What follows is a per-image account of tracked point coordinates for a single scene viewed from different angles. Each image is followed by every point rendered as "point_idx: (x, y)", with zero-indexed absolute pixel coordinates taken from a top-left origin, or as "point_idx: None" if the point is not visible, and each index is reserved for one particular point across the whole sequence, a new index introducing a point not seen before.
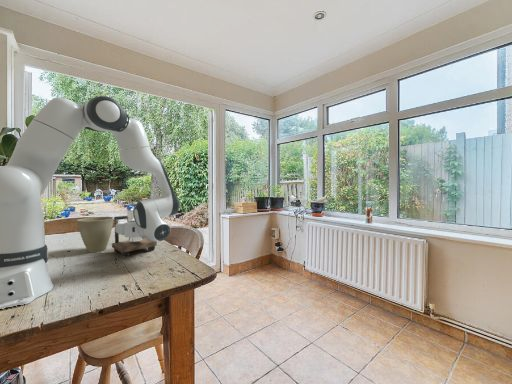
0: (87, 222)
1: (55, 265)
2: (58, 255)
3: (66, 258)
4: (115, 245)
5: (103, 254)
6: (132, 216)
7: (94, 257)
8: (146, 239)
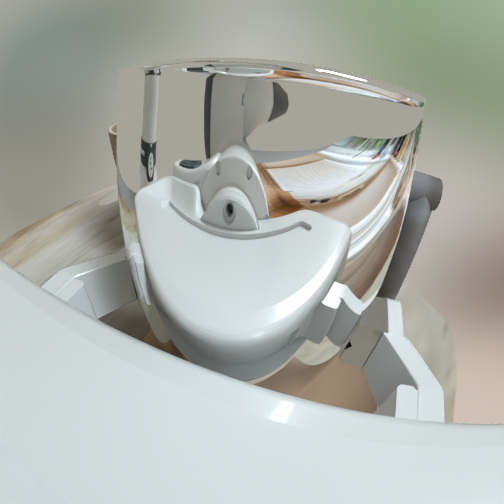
0: (109, 136)
1: (30, 277)
2: (119, 222)
3: (90, 254)
4: (144, 338)
5: (145, 320)
6: (121, 200)
7: (102, 318)
8: (353, 404)
